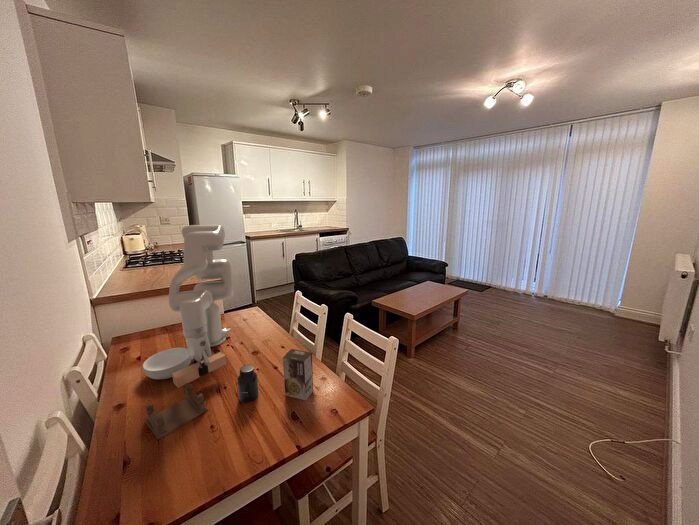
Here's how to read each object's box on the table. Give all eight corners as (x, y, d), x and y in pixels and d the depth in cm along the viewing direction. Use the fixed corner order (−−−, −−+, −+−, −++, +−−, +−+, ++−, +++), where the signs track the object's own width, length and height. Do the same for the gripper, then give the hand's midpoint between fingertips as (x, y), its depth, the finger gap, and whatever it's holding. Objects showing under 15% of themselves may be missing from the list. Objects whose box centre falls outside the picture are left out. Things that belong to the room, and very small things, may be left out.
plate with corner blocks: (193, 396, 101) (191, 381, 100) (207, 410, 94) (205, 394, 93) (145, 421, 89) (142, 405, 88) (157, 439, 83) (154, 422, 81)
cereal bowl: (174, 358, 125) (172, 344, 123) (202, 365, 120) (200, 351, 118) (135, 380, 109) (132, 365, 108) (165, 390, 104) (162, 374, 102)
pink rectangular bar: (221, 360, 114) (220, 351, 113) (226, 363, 111) (225, 355, 110) (173, 383, 100) (171, 373, 99) (178, 387, 97) (176, 378, 96)
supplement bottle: (240, 406, 96) (237, 376, 94) (238, 394, 102) (235, 365, 100) (260, 399, 99) (257, 370, 97) (257, 388, 105) (254, 360, 103)
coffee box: (313, 390, 105) (312, 352, 101) (306, 401, 99) (304, 361, 95) (293, 384, 108) (291, 347, 104) (284, 395, 102) (282, 356, 98)
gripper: (216, 333, 99) (221, 376, 103) (195, 319, 108) (200, 359, 113) (195, 341, 93) (201, 387, 98) (174, 326, 103) (181, 368, 107)
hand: (201, 371), depth 105 cm, fingers closed on pink rectangular bar, 4 cm apart
